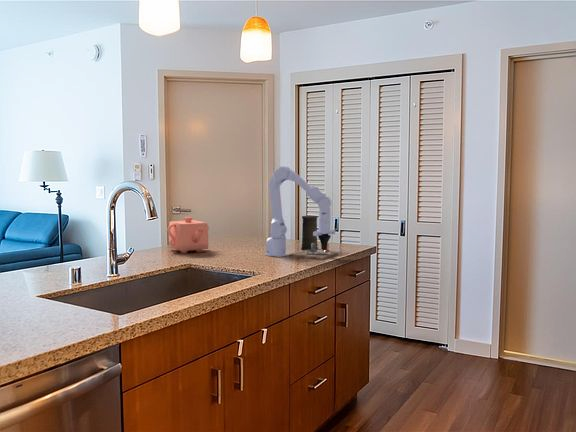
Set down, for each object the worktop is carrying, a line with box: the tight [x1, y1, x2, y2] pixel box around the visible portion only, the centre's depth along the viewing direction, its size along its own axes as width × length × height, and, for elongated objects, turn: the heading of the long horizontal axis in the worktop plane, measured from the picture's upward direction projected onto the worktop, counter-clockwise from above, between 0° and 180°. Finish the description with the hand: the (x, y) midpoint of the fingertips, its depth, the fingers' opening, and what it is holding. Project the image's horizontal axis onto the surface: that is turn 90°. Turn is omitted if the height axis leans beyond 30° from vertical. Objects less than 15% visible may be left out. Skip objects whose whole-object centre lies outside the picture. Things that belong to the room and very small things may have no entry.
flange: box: [305, 242, 331, 255], centre depth 254 cm, size 12×8×5 cm, turn 61°
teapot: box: [166, 216, 210, 254], centre depth 266 cm, size 25×23×18 cm
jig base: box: [288, 243, 339, 261], centre depth 256 cm, size 18×18×6 cm
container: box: [300, 215, 319, 251], centre depth 276 cm, size 9×9×18 cm
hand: (324, 249), depth 251 cm, fingers closed
